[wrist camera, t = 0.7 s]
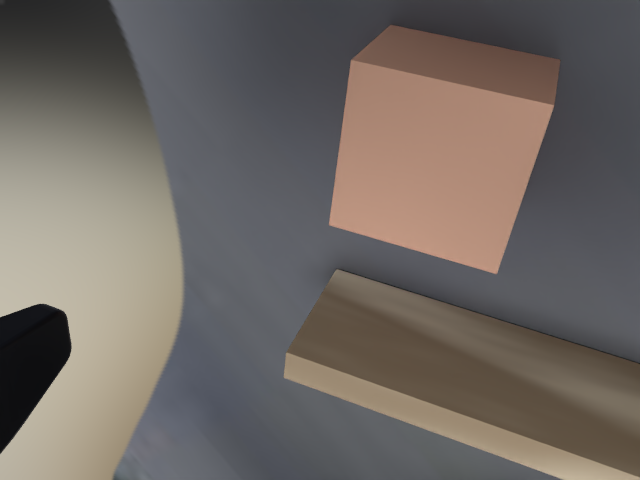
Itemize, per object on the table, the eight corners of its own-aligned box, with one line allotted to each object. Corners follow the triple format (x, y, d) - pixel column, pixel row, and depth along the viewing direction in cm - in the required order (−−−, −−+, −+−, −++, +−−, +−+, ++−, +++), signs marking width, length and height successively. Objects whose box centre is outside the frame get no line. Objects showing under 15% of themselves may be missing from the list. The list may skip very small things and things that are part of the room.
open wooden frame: (710, 414, 21) (738, 543, 17) (332, 292, 25) (283, 377, 21) (1106, -131, 12) (1358, -119, 8) (410, -212, 15) (347, -233, 11)
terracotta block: (511, 207, 20) (496, 274, 17) (367, 169, 21) (329, 224, 18) (560, 58, 17) (554, 105, 14) (392, 23, 18) (351, 60, 15)
